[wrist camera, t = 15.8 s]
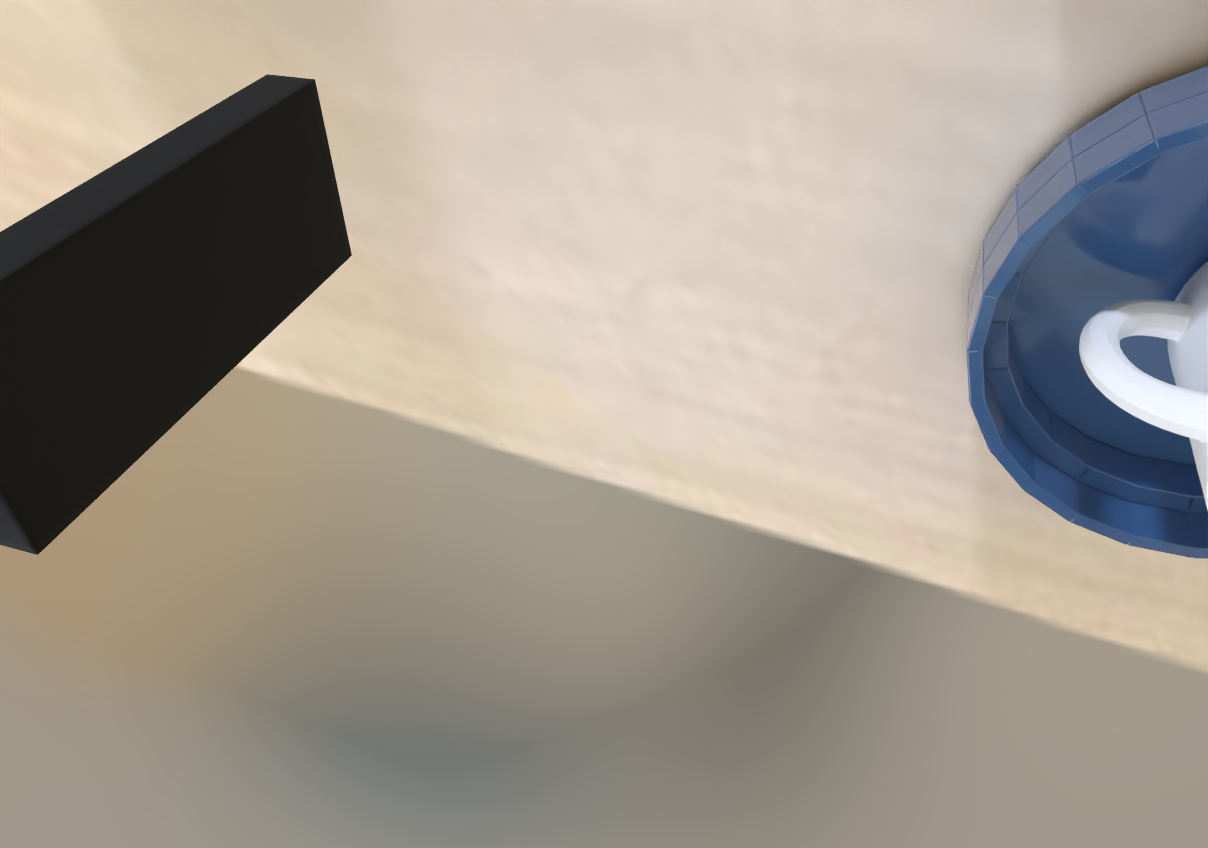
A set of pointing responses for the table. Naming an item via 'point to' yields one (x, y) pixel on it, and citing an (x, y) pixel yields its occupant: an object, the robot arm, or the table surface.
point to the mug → (1196, 351)
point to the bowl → (1080, 290)
